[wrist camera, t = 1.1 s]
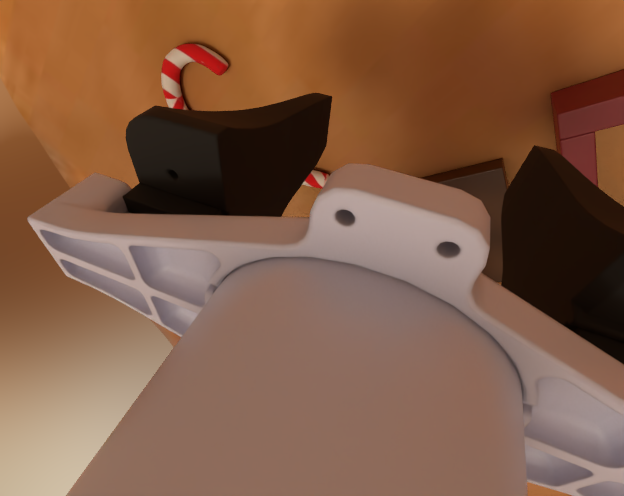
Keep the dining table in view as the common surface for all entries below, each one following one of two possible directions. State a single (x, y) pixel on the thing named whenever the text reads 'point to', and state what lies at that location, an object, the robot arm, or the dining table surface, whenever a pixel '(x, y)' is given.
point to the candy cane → (218, 66)
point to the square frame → (587, 118)
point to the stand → (490, 190)
